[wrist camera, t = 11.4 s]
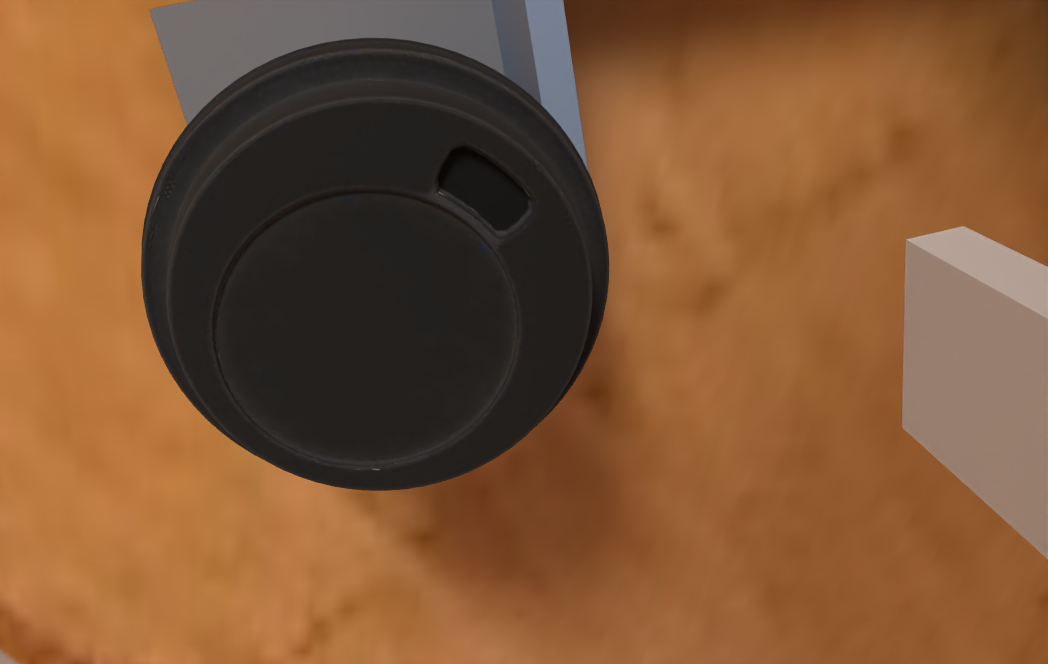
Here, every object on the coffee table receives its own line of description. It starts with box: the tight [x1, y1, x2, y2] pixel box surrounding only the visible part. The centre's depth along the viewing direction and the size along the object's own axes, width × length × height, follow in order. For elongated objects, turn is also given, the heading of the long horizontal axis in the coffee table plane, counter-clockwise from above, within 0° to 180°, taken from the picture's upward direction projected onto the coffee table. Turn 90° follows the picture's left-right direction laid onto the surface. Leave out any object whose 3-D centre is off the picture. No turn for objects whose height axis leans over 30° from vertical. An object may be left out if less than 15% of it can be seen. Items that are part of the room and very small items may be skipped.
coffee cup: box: [141, 38, 609, 491], centre depth 23 cm, size 9×9×15 cm
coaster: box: [150, 0, 505, 125], centre depth 30 cm, size 11×11×1 cm
